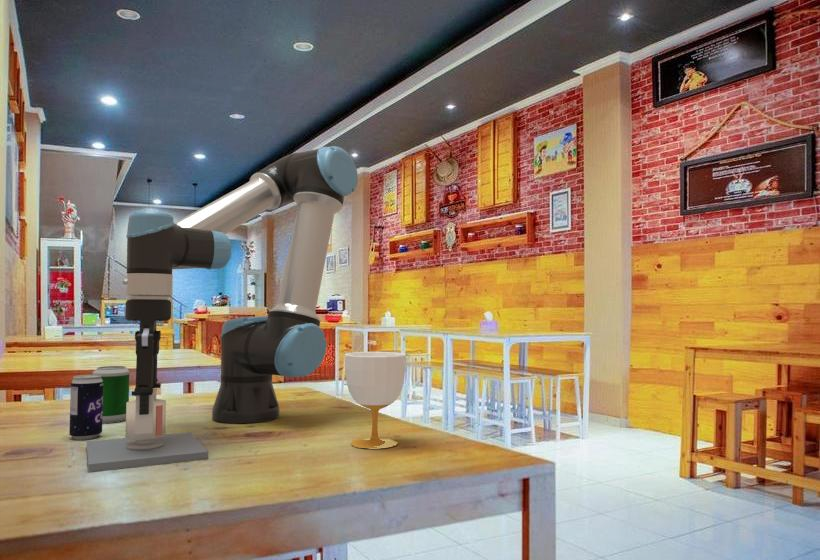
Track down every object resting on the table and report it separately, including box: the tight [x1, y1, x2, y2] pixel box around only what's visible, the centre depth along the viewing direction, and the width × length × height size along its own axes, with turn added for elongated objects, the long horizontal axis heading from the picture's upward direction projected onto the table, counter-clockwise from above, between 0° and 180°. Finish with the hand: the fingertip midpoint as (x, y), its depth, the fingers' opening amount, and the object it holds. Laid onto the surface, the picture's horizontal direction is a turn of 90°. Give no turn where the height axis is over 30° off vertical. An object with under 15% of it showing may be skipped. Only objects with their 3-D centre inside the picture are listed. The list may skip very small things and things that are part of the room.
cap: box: [125, 398, 167, 440], centre depth 107 cm, size 6×6×6 cm
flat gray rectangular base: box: [86, 431, 209, 473], centre depth 107 cm, size 18×18×3 cm
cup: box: [344, 351, 407, 449], centre depth 115 cm, size 12×12×17 cm
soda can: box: [92, 365, 131, 424], centre depth 137 cm, size 8×8×12 cm
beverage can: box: [68, 374, 103, 441], centre depth 119 cm, size 6×6×12 cm
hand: (145, 428), depth 107 cm, fingers closed on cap, 6 cm apart
